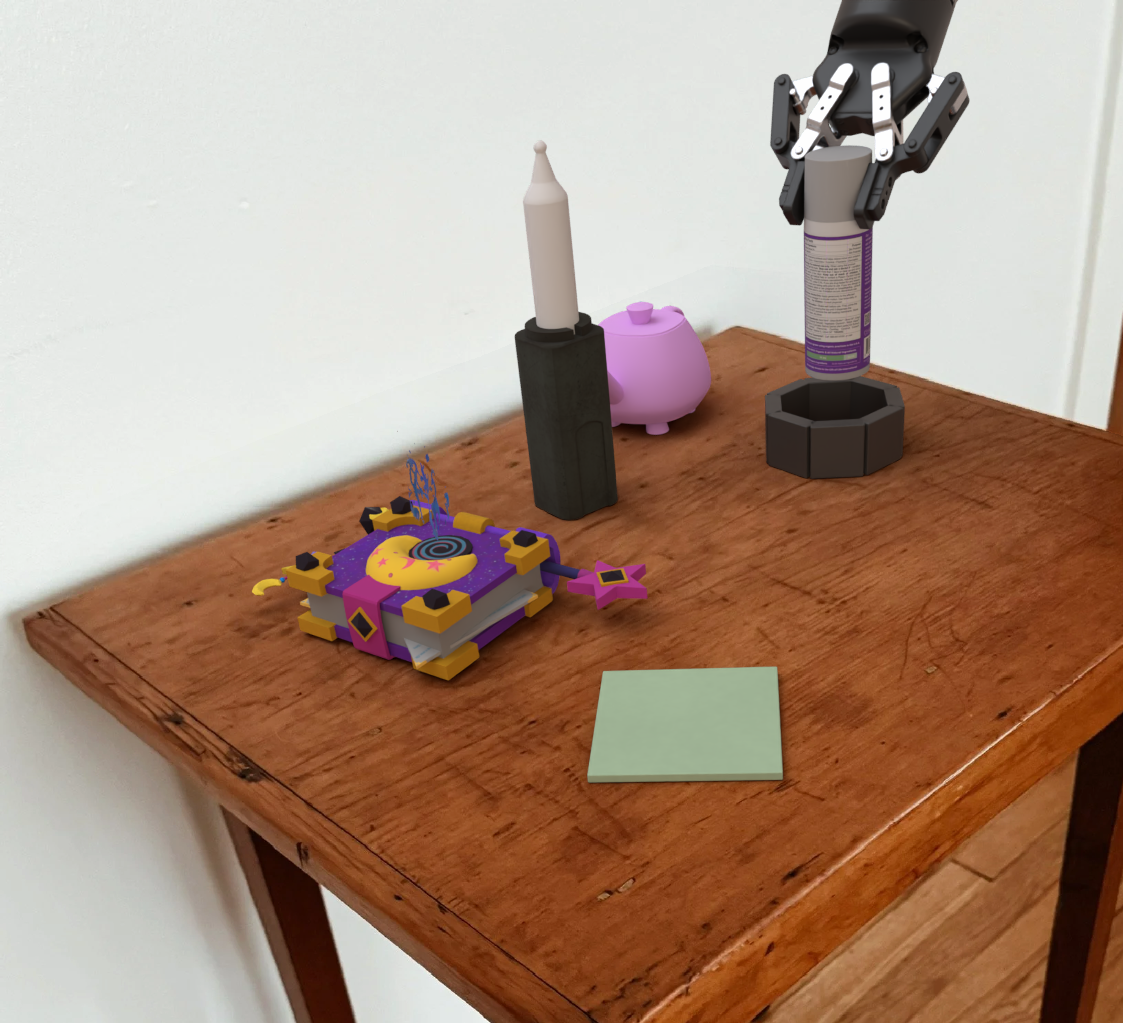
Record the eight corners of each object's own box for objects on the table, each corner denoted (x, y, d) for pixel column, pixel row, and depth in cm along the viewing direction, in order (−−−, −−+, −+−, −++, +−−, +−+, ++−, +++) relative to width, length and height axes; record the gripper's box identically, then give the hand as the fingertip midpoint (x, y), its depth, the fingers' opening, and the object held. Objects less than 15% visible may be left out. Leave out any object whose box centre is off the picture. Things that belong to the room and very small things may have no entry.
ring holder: (893, 421, 102) (895, 372, 100) (907, 474, 94) (909, 422, 92) (764, 428, 104) (764, 379, 102) (767, 481, 96) (766, 429, 93)
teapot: (739, 395, 110) (736, 284, 105) (651, 464, 100) (643, 345, 95) (633, 382, 115) (625, 275, 110) (540, 446, 105) (526, 333, 100)
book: (383, 532, 95) (351, 370, 88) (672, 609, 82) (661, 425, 75) (233, 623, 86) (185, 450, 79) (531, 727, 72) (504, 529, 66)
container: (833, 353, 98) (834, 142, 90) (883, 365, 95) (888, 147, 87) (791, 372, 96) (788, 157, 88) (841, 385, 93) (842, 163, 85)
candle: (568, 523, 93) (529, 152, 79) (528, 502, 97) (484, 144, 83) (624, 500, 95) (595, 136, 82) (583, 480, 99) (548, 128, 85)
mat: (777, 673, 74) (777, 666, 74) (782, 780, 66) (782, 772, 66) (603, 677, 76) (602, 670, 76) (587, 783, 68) (587, 775, 67)
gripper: (789, -40, 90) (712, 187, 89) (994, -53, 82) (913, 194, 81) (822, 32, 96) (751, 244, 95) (1015, 25, 89) (941, 256, 88)
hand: (826, 220), depth 88 cm, fingers closed on container, 4 cm apart
